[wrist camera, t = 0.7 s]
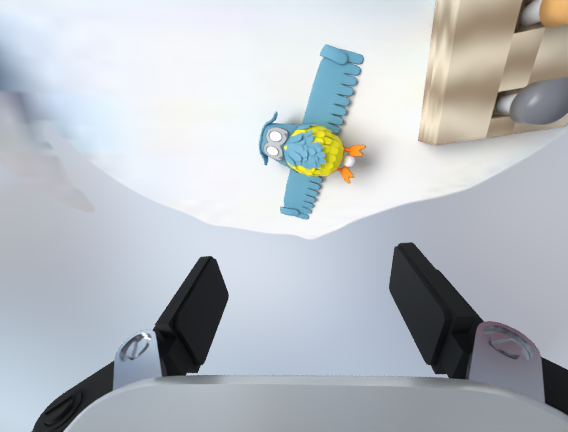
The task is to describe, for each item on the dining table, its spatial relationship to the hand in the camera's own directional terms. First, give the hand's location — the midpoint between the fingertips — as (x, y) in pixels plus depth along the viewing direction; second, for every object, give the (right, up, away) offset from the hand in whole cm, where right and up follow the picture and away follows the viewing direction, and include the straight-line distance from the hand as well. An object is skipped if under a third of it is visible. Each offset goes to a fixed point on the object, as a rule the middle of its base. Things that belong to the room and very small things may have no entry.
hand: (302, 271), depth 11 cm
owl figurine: (+3, +15, +25) cm, 30 cm away
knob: (+28, +18, +16) cm, 37 cm away
